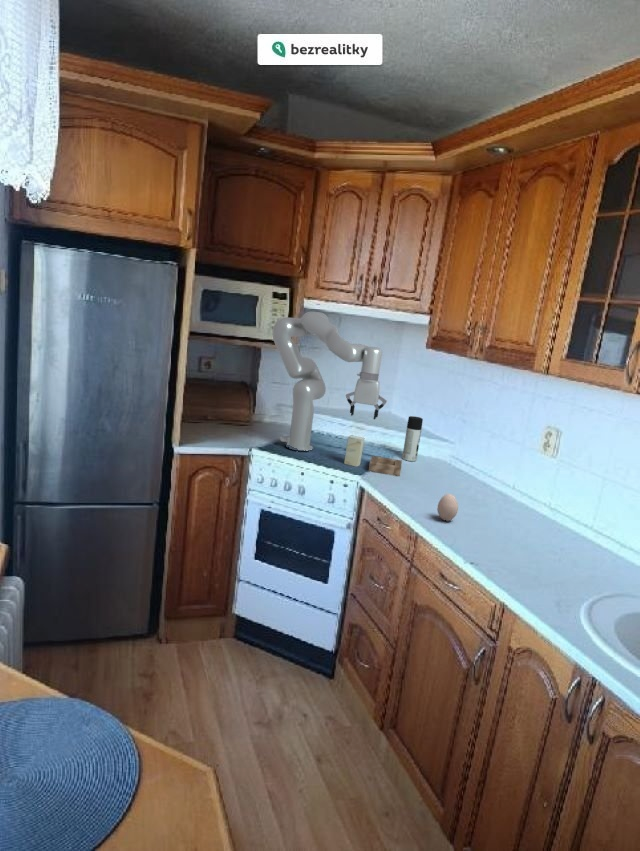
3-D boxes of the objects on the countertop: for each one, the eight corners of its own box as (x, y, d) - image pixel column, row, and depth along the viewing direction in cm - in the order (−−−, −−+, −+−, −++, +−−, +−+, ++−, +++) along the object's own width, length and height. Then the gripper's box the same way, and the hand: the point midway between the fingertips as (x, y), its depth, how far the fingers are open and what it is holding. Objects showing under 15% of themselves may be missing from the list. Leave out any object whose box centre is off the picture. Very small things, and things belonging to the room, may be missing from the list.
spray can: (417, 462, 261) (424, 420, 257) (402, 460, 261) (409, 418, 257) (415, 458, 267) (422, 417, 263) (401, 456, 267) (407, 415, 263)
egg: (442, 524, 187) (447, 498, 185) (431, 516, 192) (436, 491, 191) (459, 523, 189) (464, 497, 187) (448, 516, 195) (452, 490, 193)
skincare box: (343, 463, 243) (347, 436, 241) (347, 461, 247) (350, 434, 245) (357, 467, 241) (361, 439, 239) (360, 464, 245) (364, 437, 243)
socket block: (368, 471, 237) (369, 463, 236) (370, 463, 249) (372, 455, 249) (399, 476, 235) (401, 468, 234) (400, 468, 248) (401, 460, 247)
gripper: (347, 374, 235) (341, 415, 239) (389, 381, 232) (382, 421, 236) (350, 372, 242) (344, 412, 246) (390, 379, 239) (384, 418, 243)
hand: (363, 416), depth 241 cm, fingers open, 9 cm apart
